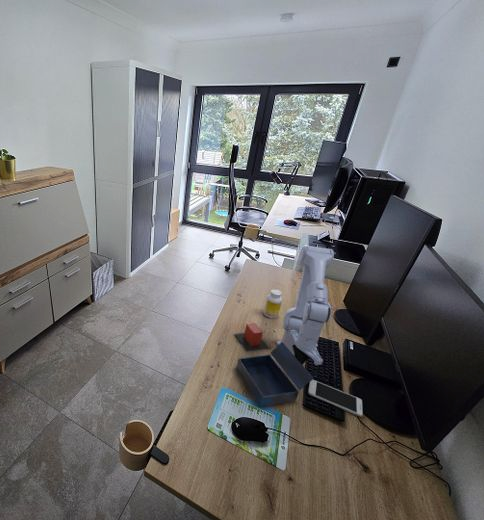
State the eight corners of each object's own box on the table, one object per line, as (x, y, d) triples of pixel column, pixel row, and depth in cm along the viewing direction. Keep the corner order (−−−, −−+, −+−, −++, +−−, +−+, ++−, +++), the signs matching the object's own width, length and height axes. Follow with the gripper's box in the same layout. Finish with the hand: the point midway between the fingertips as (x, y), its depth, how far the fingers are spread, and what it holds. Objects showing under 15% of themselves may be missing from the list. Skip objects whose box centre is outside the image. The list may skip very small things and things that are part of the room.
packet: (252, 335, 126) (255, 322, 122) (259, 345, 120) (263, 332, 117) (243, 336, 125) (246, 323, 122) (250, 346, 120) (254, 333, 117)
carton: (266, 364, 112) (269, 354, 109) (294, 402, 97) (298, 391, 95) (236, 368, 110) (238, 358, 107) (259, 408, 95) (263, 397, 93)
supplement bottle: (279, 319, 136) (285, 297, 131) (264, 317, 138) (270, 295, 132) (275, 311, 142) (282, 289, 136) (261, 309, 143) (267, 287, 138)
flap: (269, 353, 109) (270, 353, 109) (299, 390, 94) (299, 390, 94) (281, 341, 107) (282, 342, 107) (313, 378, 93) (314, 378, 93)
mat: (255, 332, 128) (256, 331, 128) (268, 348, 119) (268, 347, 119) (234, 335, 126) (235, 334, 126) (246, 351, 118) (246, 350, 117)
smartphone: (309, 380, 105) (310, 378, 105) (360, 401, 98) (362, 399, 97) (307, 394, 100) (308, 392, 99) (361, 417, 92) (362, 415, 92)
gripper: (336, 348, 89) (323, 379, 95) (306, 319, 102) (296, 348, 108) (315, 350, 88) (303, 382, 94) (287, 321, 101) (278, 350, 107)
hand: (298, 364), depth 101 cm, fingers closed, pressing on flap
